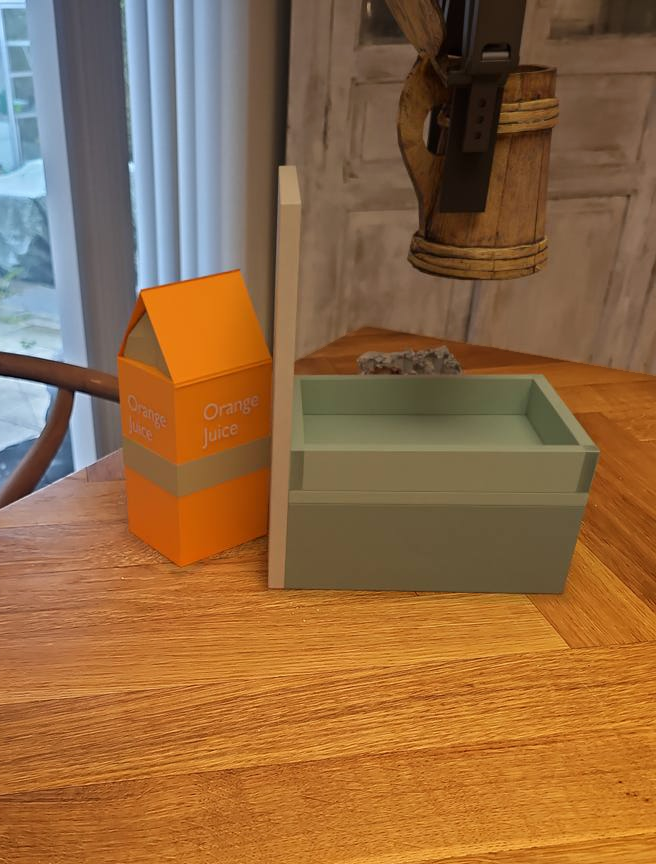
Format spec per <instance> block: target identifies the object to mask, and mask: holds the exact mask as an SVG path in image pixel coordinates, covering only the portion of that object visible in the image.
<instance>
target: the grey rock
mask: <svg viewBox="0 0 656 864" xmlns="http://www.w3.org/2000/svg"><path fill="white" fill-rule="evenodd" d="M356 363H358V371H357V375H450V374H466V369H463V370H462V368H461V363H460V361H457V358H456V357H455V356H454V354H453V353H450V350H449V349H448V347H447V345H441V346H438V347H436V348H429V349H428V350H426V349H419V350H418V351H414V350H413V348H409V349H407V350H404V351H392V352H381V351H378V350H377V351H376V350H369V351H367V352H365V353H363V354H362V355H360V356H359V357H358V358H356Z"/></svg>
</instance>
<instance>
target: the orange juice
mask: <svg viewBox="0 0 656 864" xmlns="http://www.w3.org/2000/svg"><path fill="white" fill-rule="evenodd" d="M116 367H117V381H118V382H117V383H118V395H119V408H120V421H121V422H120V423H121V443H122V445H121V446H122V459H123V465H124V475H125V489H126V490H125V491H126V501H127V502H126V504H127V516H128V517H127V518H128V528H129V529H128V530H129V532H130V533H131V534H132V535H134V536H135V537H137V538H138V539H140V540H141V541H143V542H144V543H145V544H146V545H148V546H150V547H151V548H152V549H153V550H155V551H157V552H158V553H159V554H161V555H162V556H164V557H165V558H166V559H168V561H171V562H172V563H174V564H175V565H176V566H178V567H179V568H183V567H186V566H189V565H191V564H194V563H197V562H199V561H201V560H204V559H206V558H207V559H208V558H209V557H211V556H215V555H217V554H220V553H222V552H225V551H227V550H230V549H232V548H235V547H237V546H240V545H242V544H243V545H244V544H245V543H248V542H251V541H253V540H255V539H256V540H257V539H258V538H261V537H263V536H266V535H268V522H269V473H270V443H271V407H272V375H273V356H272V355H271V353H270V351H269V348H268V345H267V342H266V340H265V337H264V334H263V331H262V328H261V326H260V323H259V320H258V317H257V314H256V311H255V309H254V305H253V302H252V300H251V298H250V294H249V291H248V288H247V286H246V283H245V281H244V278H243V275H242V273H241V268H236V269H232V270H227V271H223V272H222V271H221V272H218V273H212V274H208V275H204V276H198V277H194V278H190V279H184V280H179V281H175V282H170V283H164V284H160V285H156V286H151V287H147V288H140V290H139V294H138V296H137V299H136V302H135V305H134V307H133V310H132V313H131V316H130V319H129V322H128V324H127V327H126V331H125V333H124V336H123V339H122V342H121V345H120V348H119V350H118V354H117V356H116Z"/></svg>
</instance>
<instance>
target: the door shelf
mask: <svg viewBox="0 0 656 864" xmlns="http://www.w3.org/2000/svg"><path fill="white" fill-rule="evenodd" d="M277 178H278V179H277V180H278V182H277V210H276V211H277V215H276V221H277V222H276V243H275V244H276V245H275V247H276V248H275V249H276V250H275V251H276V252H275V254H276V255H275V278H274V281H275V283H274V311H273V312H274V313H273V347H272V384H271V418H270V435H271V443H270V467H269V487H268V527H267V535H268V541H267V544H268V545H267V546H268V547H267V549H268V550H267V551H268V552H267V555H268V556H267V589H278V590H279V589H283V590H284V589H285V590H335V591H337V590H338V591H340V590H342V591H383V592H385V591H386V592H387V591H388V592H391V591H394V592H436V593H437V592H438V593H442V592H445V593H446V592H447V593H488V594H489V593H494V594H496V593H498V594H543V595H544V594H545V595H551V594H553V595H563V594H564V591H565V587H566V584H567V579H568V576H569V572H570V569H571V564H572V562H573V557H574V553H575V549H576V546H577V541H578V538H579V535H580V530H581V527H582V523H583V518H584V515H585V512H586V506H587V503H588V500H589V496H590V493H591V489H592V485H593V481H594V477H595V473H596V471H597V466H598V462H599V460H600V459H599V458H600V455H601V450H600V449H599V448H598V446H597V445H596V444H595V442H594V441H593V439H592V438H591V437H590V435H589V434H588V433H587V432H586V430H585V429H584V428H583V426H582V425H581V423H580V422H579V421H578V420H577V418H576V417H575V416H574V414H573V412H572V411H571V410H570V408H569V407H568V405H566V403H565V402H564V401H563V399H562V398H561V397H560V395H559V393H558V392H557V391H556V390H555V388H554V387H553V386H552V384H551V382H549V380H548V379H547V378H546V377H545V375H544V374H543V373H526V374H525V373H515V374H514V373H512V374H511V373H507V374H506V373H505V374H504V373H503V374H501V373H497V374H496V373H495V374H494V373H493V374H492V373H488V374H487V373H486V374H485V373H484V374H483V373H482V374H481V373H479V374H477V373H476V374H473V373H471V374H468V373H467V374H466V373H465V374H464V373H462V374H450V375H358V374H295V357H296V356H295V355H296V336H297V334H296V333H297V313H298V310H297V309H298V292H299V291H298V289H299V288H298V287H299V269H300V268H299V267H300V247H301V246H300V245H301V224H302V223H301V222H302V197H301V192H300V185H299V178H298V172H297V166H296V165H279V166H278V177H277Z"/></svg>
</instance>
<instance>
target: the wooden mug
mask: <svg viewBox="0 0 656 864" xmlns="http://www.w3.org/2000/svg"><path fill="white" fill-rule="evenodd" d="M384 1H385V3H386V5H387V7H388V9H389V11H390V13H391V15H392V17H393V18H394V20H395V21H396V23H397V24H398V27H399V28H400V29H401V31H402V33H403V34H404V35H405V37H406V39H407V40H408V41H409V43H410V44H411V45H412V46H413V48H414V50H415V51H416V52H417V56H416V60H415V61H414V63H413V65H412V67H411V69H410V70H409V73H408V75H407V76H406V78H405V82H404V84H403V87H402V90H401V93H400V96H399V101H398V107H397V113H396V118H395V119H396V134H397V135H396V136H397V145H398V149H399V152H400V155H401V159H402V162H403V165H404V167H405V170H406V172H407V174H408V177H409V179H410V182H411V184H412V186H413V190H414V193H415V196H416V200H417V206H418V207H417V208H418V212H417V213H418V230H415V231H414V233H412V235H411V240H410V244H409V248H408V253H407V258H406V261H407V262H408V263H409V264H410V265H411V266H412V268H413V269H415V270H417V271H418V272H420V273H423V274H425V275H429V276H433V277H437V278H443V279H448V280H457V281H509V280H517V279H520V278H525V277H529V276H532V275H535V274H536V273H539V272H540V271H541V272H542V270H544V269H545V268H547V266H548V254H549V253H548V249H549V248H548V247H549V246H548V245H549V239H548V236H547V235H546V234H545V233H546V218H547V206H548V205H547V204H548V191H549V190H548V188H549V176H550V174H549V173H550V160H551V148H552V147H551V146H552V135H553V129H554V128H555V127H556V126H557V125H559V120H560V97H558V96H556V87H557V75H558V67H557V66H556V67H555V66H549V65H544V64H538V63H537V64H536V63H523V64H519V65H518V68H517V71H516V72H515V73H514V74H510V75H509V78H508V79H507V82H506V85H505V86H504V94H503V100H502V106H501V113H500V119H499V126H498V132H497V138H496V145H495V151H494V157H493V164H492V170H491V176H490V183H489V189H488V196H487V202H486V208H485V212H473V213H439V212H438V206H439V198H440V190H441V182H442V175H443V167H444V159H445V151H446V144H447V136H448V128H449V120H450V112H451V105H452V97H453V89H454V88H447V87H446V79H447V77H448V75H449V73H450V71H459V70H461V57H458V56H451V55H447V53H446V51H447V43H446V36H447V28H446V23H445V18H444V14H443V11H442V9H441V6H440V4H439V0H384ZM443 103H444V105H443V107H442V109H441V111H440V113H439V115H438V122H437V123H438V124H439V125H440V127H441V128H442V129H441V134H440V138H439V143H438V148H437V153H433V152H431V151H430V150H428V149H427V144H426V142H425V140H424V128H425V122H426V119H427V117H428V115H429V113H431V109H432V108H433V107H434V106H437V105H439V104H443Z"/></svg>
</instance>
